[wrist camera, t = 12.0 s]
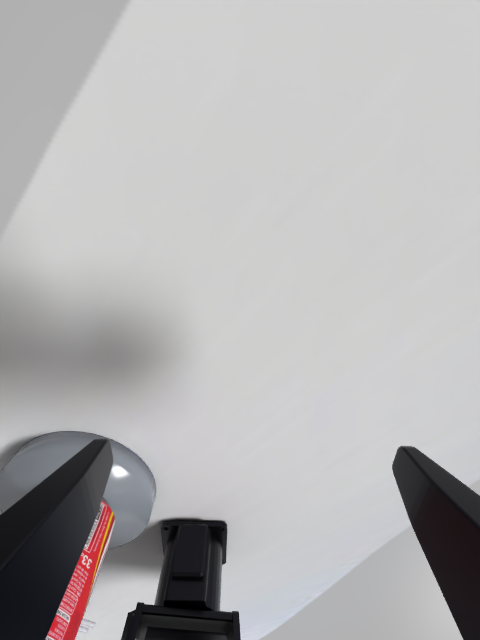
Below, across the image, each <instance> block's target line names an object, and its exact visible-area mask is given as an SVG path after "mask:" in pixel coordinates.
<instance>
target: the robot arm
mask: <svg viewBox="0 0 480 640" xmlns="http://www.w3.org/2000/svg"><path fill="white" fill-rule="evenodd" d="M112 466H113V453H112V448H111V442H110V440H109V439H104V438H96V439H94V440H93V441H91V442H90V443H89V444H88V445H86V446H85V447H84V448H83V449H81V450H80V451H79V452H78V453H76V454H75V455H74V456H73V457H71V458H70V459H69V460H68V461H66V462H65V463H64V464H63V465H62V466H60V467H59V468H58V469H57V470H55V471H54V472H53V473H52V474H50V475H49V476H48V477H47V478H45V479H44V480H43V481H42V482H40V483H39V484H38V485H37V486H35V487H34V488H33V489H32V490H31V491H29V492H28V493H27V494H26V495H24V496H23V497H22V498H21V499H19V500H18V501H17V502H16V503H14V504H13V505H12V506H11V507H9V508H8V509H7V510H6V511H4V512H3V513H2V514H1V515H0V640H46V637H47V635H48V633H49V630H50V628H51V625H52V623H53V621H54V618H55V616H56V613H57V611H58V609H59V606H60V604H61V602H62V599H63V597H64V594H65V592H66V590H67V587H68V585H69V582H70V580H71V578H72V575H73V573H74V571H75V568H76V566H77V563H78V561H79V559H80V556H81V554H82V551H83V549H84V547H85V544H86V542H87V539H88V537H89V535H90V532H91V530H92V528H93V525H94V522H95V520H96V517H97V514H98V511H99V508H100V505H101V501H102V498H103V495H104V492H105V488H106V485H107V482H108V479H109V476H110V472H111V469H112ZM392 469H393V474H394V477H395V479H396V482H397V485H398V488H399V491H400V494H401V497H402V499H403V502H404V505H405V508H406V511H407V514H408V517H409V519H410V522H411V525H412V527H413V529H414V532H415V534H416V536H417V538H418V540H419V543H420V545H421V547H422V549H423V552H424V554H425V556H426V558H427V560H428V562H429V565H430V567H431V569H432V571H433V573H434V575H435V578H436V580H437V582H438V585H439V587H440V589H441V591H442V593H443V596H444V598H445V600H446V602H447V604H448V607H449V609H450V611H451V613H452V615H453V618H454V620H455V622H456V624H457V626H458V628H459V631H460V633H461V635H462V637H463V639H464V640H480V496H479V495H478V494H477V493H475V492H474V491H473V490H471V489H470V488H469V487H467V486H466V485H465V484H463V483H462V482H461V481H459V480H458V479H457V478H455V477H454V476H453V475H451V474H450V473H449V472H447V471H446V470H445V469H443V468H442V467H441V466H439V465H438V464H437V463H435V462H434V461H433V460H431V459H430V458H429V457H427V456H426V455H424V454H423V453H422V452H420V451H419V450H418V449H416V448H415V447H412V446H400V447H399V448H398V450H397V453H396V456H395V459H394V461H393V465H392ZM161 533H162V542H163V551H164V560H163V565H162V570H161V574H160V579H159V584H158V589H157V594H156V599H155V604H154V605H146V604H144V603H140V602H138V603H137V607H136V610H134V611H132V612H129V613H128V616H127V619H126V623H125V627H124V631H123V635H122V638H121V640H241V639H240V623H239V612H238V611H232V612H223V611H220V595H221V571H222V565H223V564H225V563H226V546H227V524H226V523H224V522H180V521H165V522H163V523H162V527H161Z"/></svg>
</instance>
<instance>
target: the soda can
mask: <svg viewBox="0 0 480 640" xmlns="http://www.w3.org/2000/svg"><path fill="white" fill-rule="evenodd" d="M114 524H115V516H114V513H113V511H112V510H111V508H110V507H109V506H108V505H107V504H106V502H105V501H104V500H103V499H102V501H101V505H100V508H99V511H98V514H97V517H96V520H95V522H94V525H93V528H92V530H91V532H90V535H89V537H88V539H87V542H86V544H85V547H84V549H83V551H82V554H81V556H80V559H79V561H78V563H77V566H76V568H75V571H74V573H73V575H72V578H71V580H70V582H69V585H68V587H67V590H66V592H65V594H64V597H63V599H62V602H61V604H60V606H59V609H58V611H57V613H56V616H55V618H54V621H53V623H52V625H51V628H50V630H49V633H48V635H47V637H46V640H75V637H76V635H77V632H78V629H79V627H80V624H81V621H82V619H83V616H84V613H85V610H86V608H87V605H88V602H89V599H90V597H91V594H92V591H93V588H94V586H95V583H96V580H97V577H98V575H99V572H100V569H101V566H102V563H103V561H104V558H105V555H106V552H107V549H108V546H109V543H110V539H111V536H112V532H113V528H114Z"/></svg>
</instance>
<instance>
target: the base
mask: <svg viewBox="0 0 480 640" xmlns="http://www.w3.org/2000/svg"><path fill="white" fill-rule="evenodd" d="M96 438H104V439H108V438H105V437H103V436H99V435H95V434H90V433H84V432H74V431H67V432H55V433H50V434H46V435H42V436H40V437H37V438H35V439H33V440H31V441H29V442H28V443H26V444H25V445H24V446H23V447H22V448H21V449H20V450H19V451H18V452H17V453H16V454H15V456H14V457H13V458H12V459H11V460H10V462H9V463H8V464H7V465H6V466H5V467H4V469H3V470H2V471H1V472H0V510H1V511H2V513H3V512H4V511H6V510H7V509H8V508H9V507H11V506H12V505H13V504H14V503H16V502H17V501H18V500H19V499H21V498H22V497H23V496H24V495H26V494H27V493H28V492H29V491H31V490H32V489H33V488H34V487H35V486H37V485H38V484H39V483H40V482H42V481H43V480H44V479H45V478H47V477H48V476H49V475H50V474H52V473H53V472H54V471H55V470H57V469H58V468H59V467H60V466H62V465H63V464H64V463H65V462H66V461H68V460H69V459H70V458H71V457H73V456H74V455H75V454H76V453H78V452H79V451H80V450H81V449H83V448H84V447H85V446H86V445H88V444H89V443H90V442H91V441H93V440H94V439H96ZM109 440H110V442H111V448H112V453H113V466H112V469H111V472H110V476H109V479H108V482H107V485H106V488H105V492H104V495H103V498H102V499H103V500H104V501H105V502H106V504H107V505H108V506H109V507H110V508H111V510H112V511H113V513H114V516H115V524H114V528H113V532H112V536H111V539H110V543H109V546H108V549H112V548H116V547H119V546H122V545H124V544H127V543H129V542H130V541H132V540H134V539H135V538H136V537H138V536H139V535H140V534H141V533H142V532H143V531H144V529H145V528H146V526H147V524H148V522H149V519H150V515H151V511H152V508H153V504H154V500H155V496H156V484H155V479H154V477H153V474H152V472H151V471H150V469H149V467H148V466H147V465H146V464H145V462H144V461H143V460H142V459H141V458H140V457H139V456H138V455H137V454H135V453H134V452H133V451H131V450H130V449H128V448H127V447H125V446H123V445H122V444H120V443H118V442H115V441H113V440H111V439H109Z"/></svg>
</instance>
